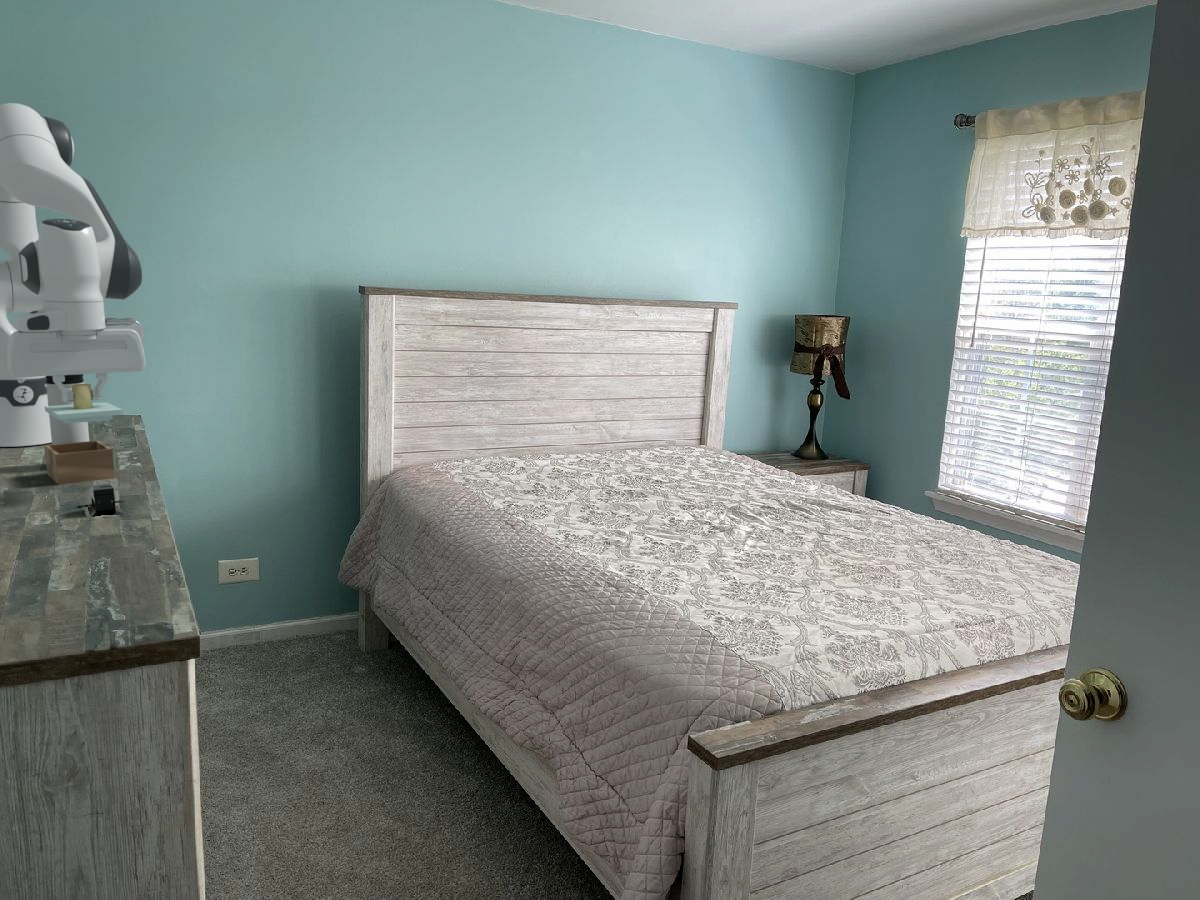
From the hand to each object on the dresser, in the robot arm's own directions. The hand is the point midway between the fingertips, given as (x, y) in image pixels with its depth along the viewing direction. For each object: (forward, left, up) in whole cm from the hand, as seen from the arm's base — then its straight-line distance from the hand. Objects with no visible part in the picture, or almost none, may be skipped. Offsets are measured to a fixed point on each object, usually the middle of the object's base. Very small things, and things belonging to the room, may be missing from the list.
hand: (82, 400), depth 153 cm
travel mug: (-23, +2, -16) cm, 28 cm away
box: (-12, +1, -16) cm, 20 cm away
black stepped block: (+14, -1, -17) cm, 22 cm away
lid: (0, 0, -2) cm, 2 cm away
